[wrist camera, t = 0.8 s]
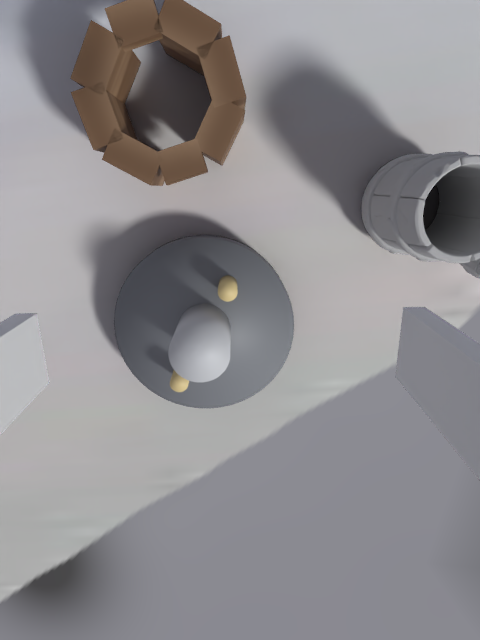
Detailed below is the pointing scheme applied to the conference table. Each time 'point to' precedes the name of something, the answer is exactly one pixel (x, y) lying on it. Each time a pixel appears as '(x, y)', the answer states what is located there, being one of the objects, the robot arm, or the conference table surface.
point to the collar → (120, 71)
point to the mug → (408, 205)
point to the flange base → (200, 285)
